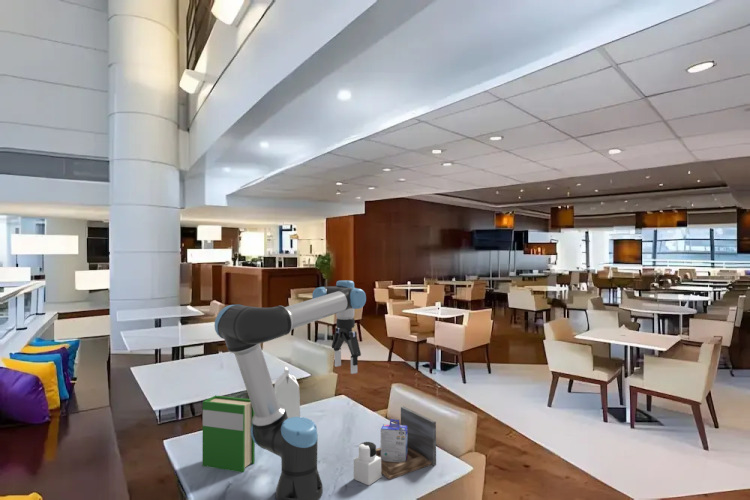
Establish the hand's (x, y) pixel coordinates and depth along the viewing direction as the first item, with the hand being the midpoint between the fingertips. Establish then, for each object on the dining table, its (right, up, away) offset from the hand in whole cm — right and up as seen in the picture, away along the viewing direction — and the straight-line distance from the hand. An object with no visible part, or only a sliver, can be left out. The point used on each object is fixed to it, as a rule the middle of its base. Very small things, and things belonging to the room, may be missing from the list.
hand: (345, 369), depth 176 cm
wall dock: (+21, -31, -13) cm, 40 cm away
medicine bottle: (+9, -31, -26) cm, 42 cm away
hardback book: (-43, -32, -15) cm, 56 cm away
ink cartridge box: (+19, -31, -14) cm, 39 cm away
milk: (-29, -33, +24) cm, 50 cm away
